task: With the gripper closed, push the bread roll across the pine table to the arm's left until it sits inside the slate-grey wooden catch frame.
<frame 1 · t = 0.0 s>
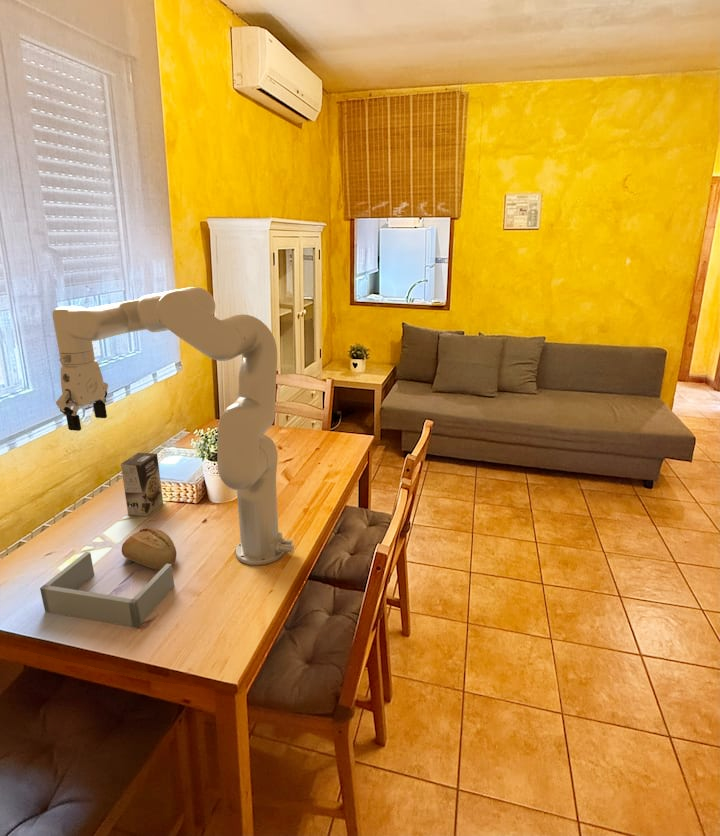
hand: (88, 423, 138), 31 cm above the table, fingers open, 9 cm apart
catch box: (113, 596, 121), on the table
bread roll: (151, 562, 135), on the table
coffee box: (146, 509, 161), on the table
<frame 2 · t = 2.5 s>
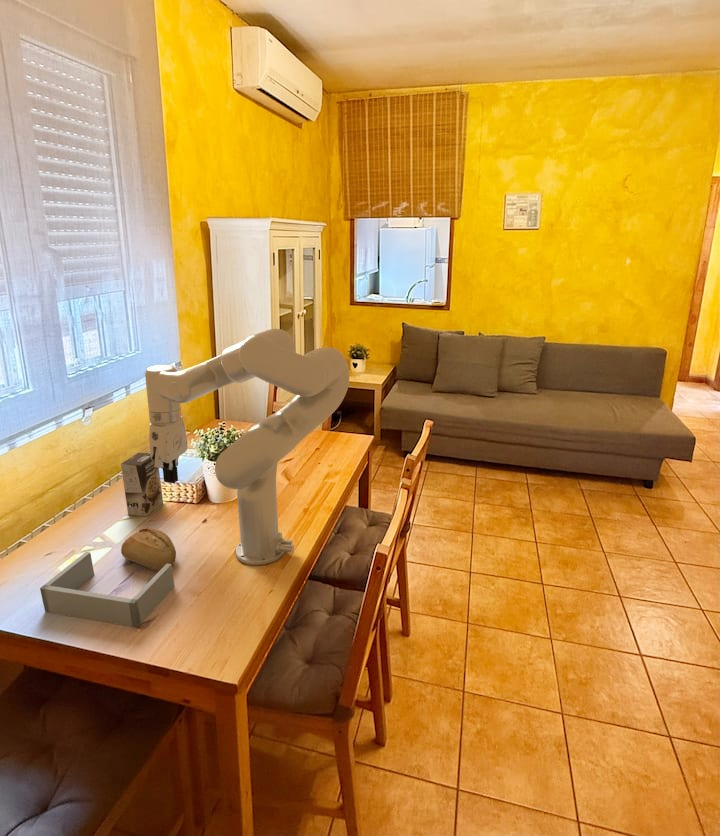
hand: (171, 481, 141), 16 cm above the table, fingers closed
nothing on the table moved.
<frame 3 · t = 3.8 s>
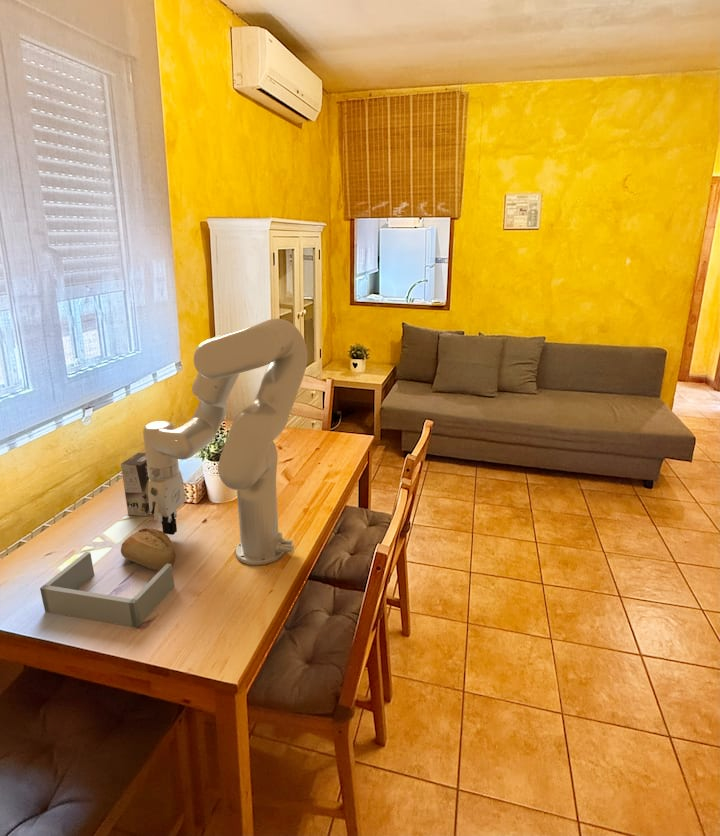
hand: (169, 532, 144), 2 cm above the table, fingers closed
nothing on the table moved.
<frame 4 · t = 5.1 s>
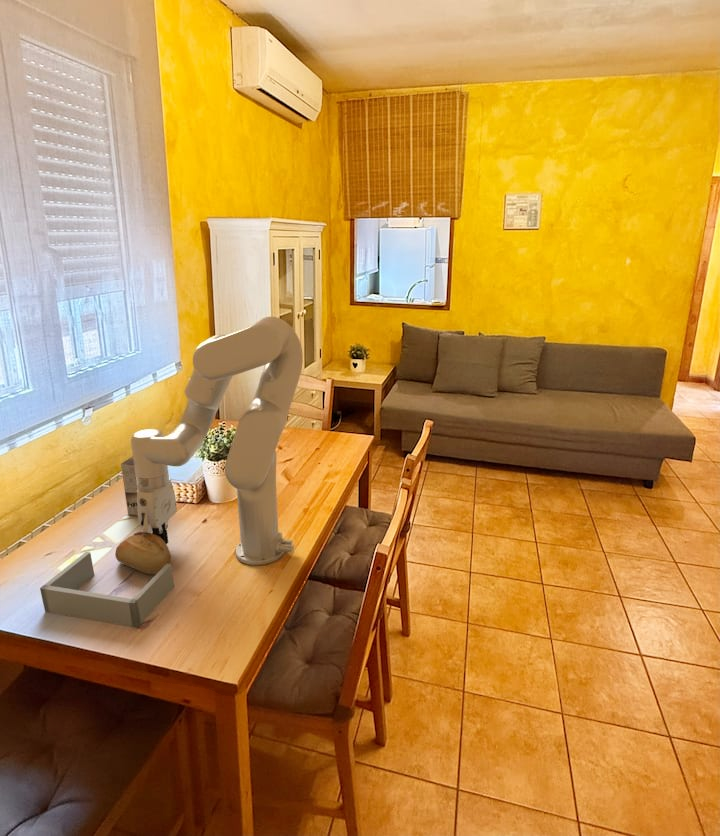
hand: (161, 544, 139), 2 cm above the table, fingers closed
bread roll: (145, 566, 133), on the table, touching gripper
everything else where it was.
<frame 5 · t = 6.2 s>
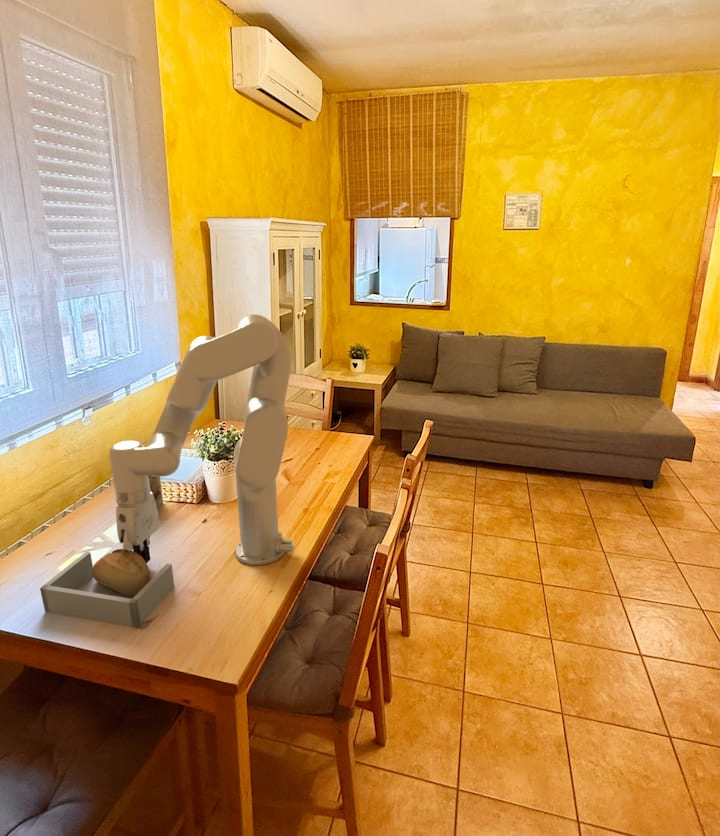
hand: (142, 561, 132), 2 cm above the table, fingers closed
bread roll: (123, 585, 126), on the table
everything else where it was.
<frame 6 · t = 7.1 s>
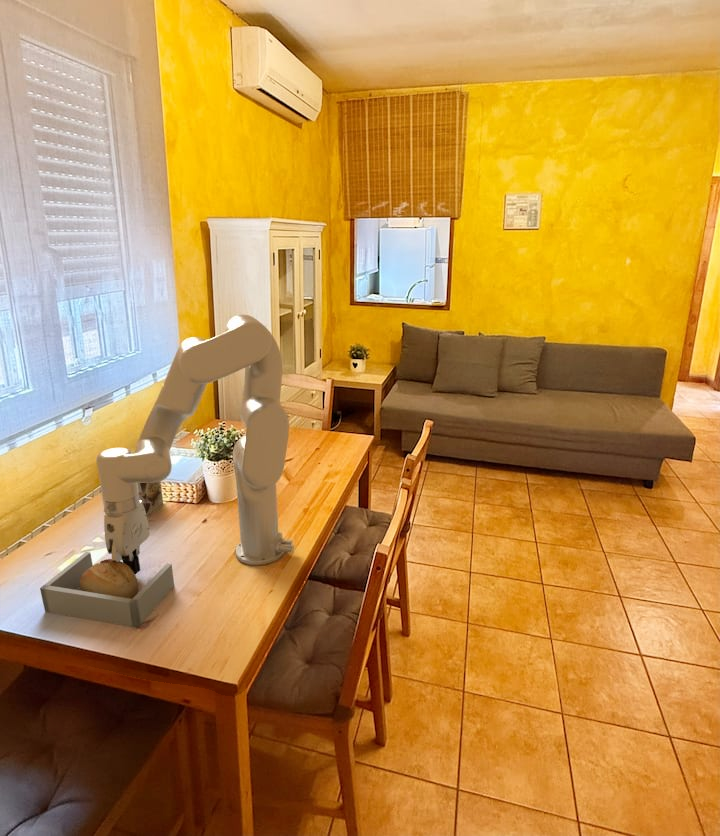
hand: (132, 571, 128), 2 cm above the table, fingers closed
bread roll: (111, 597, 122), on the table, touching gripper
everything else where it was.
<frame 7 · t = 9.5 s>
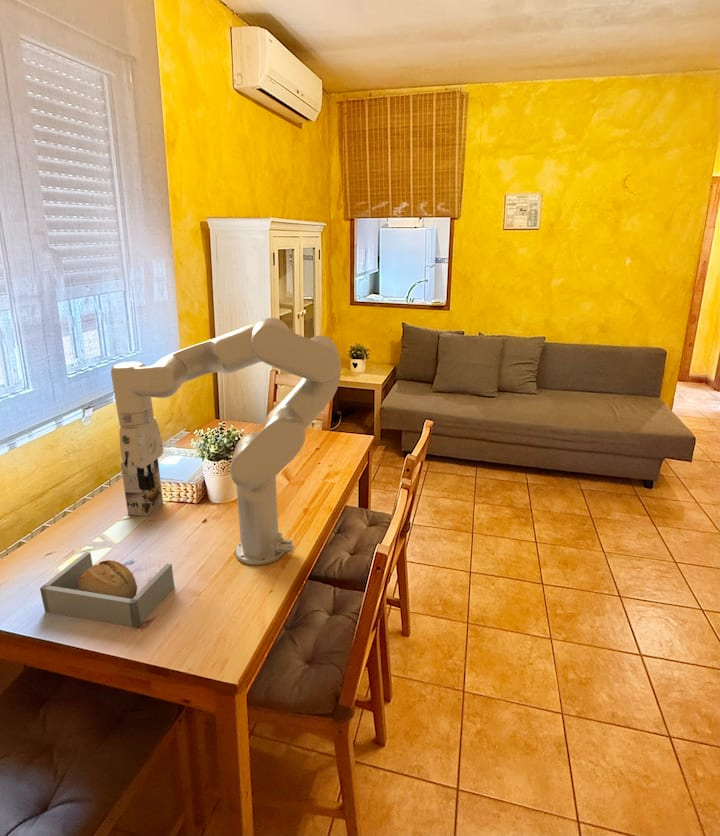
hand: (147, 488, 130), 19 cm above the table, fingers closed
bread roll: (110, 598, 122), on the table
everything else where it was.
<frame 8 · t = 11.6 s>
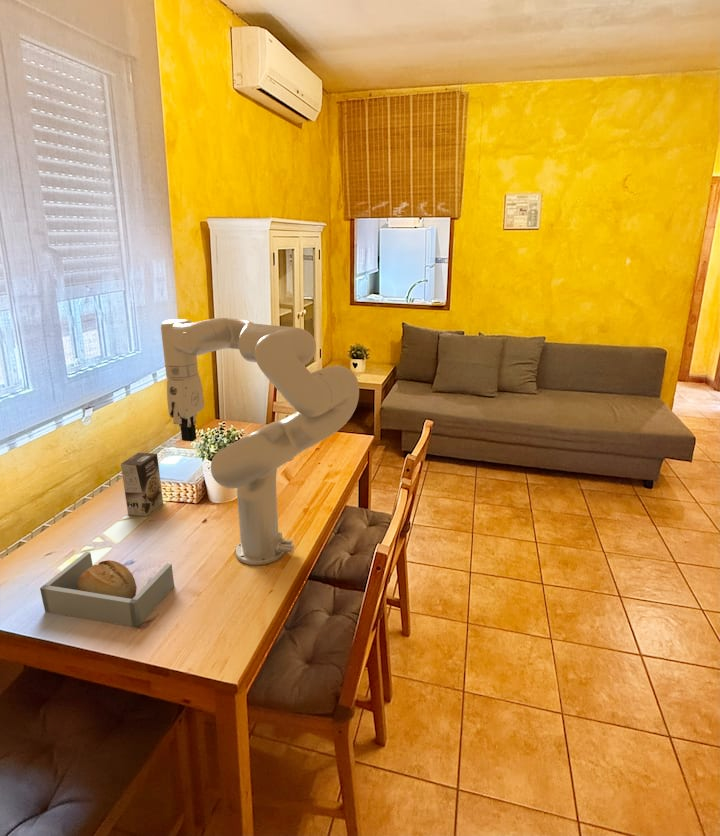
hand: (189, 439, 139), 27 cm above the table, fingers closed
nothing on the table moved.
at the end: bread roll inside the target area on the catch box (0.9 cm from its centre), point 0.0 cm above the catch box's base; bread roll moved 14.8 cm from its start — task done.
